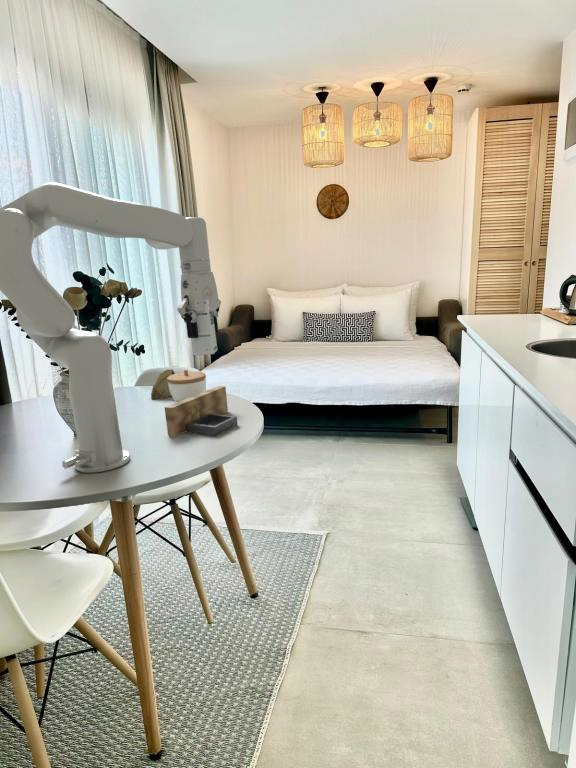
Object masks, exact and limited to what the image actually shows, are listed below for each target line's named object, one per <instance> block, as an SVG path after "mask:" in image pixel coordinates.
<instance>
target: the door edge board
mask: <svg viewBox="0 0 576 768" xmlns="http://www.w3.org/2000/svg"><path fill="white" fill-rule="evenodd" d="M228 412H229V409H228V398H227V388H226V385H223V386H222V385H218V386H215V387H213V388H210V389H208V390H206V391H205V392H202V393H200V394H197V395H195V396H192V397H190V398H187V399H185V400H182V401H180V402H177V401H176V402H175V403H172V404H170V405H167V406H164V413H165V421H166V423H165V424H166V431H167V436H168V435H169V436H168V437H174V436H175V437H178V436H179V435H182V434H183V432H184V433H185V431H186V432H187V430H186V423H188V422H191V421H193V420H195V419H197V418H199V417H202V416H204V415H206V414H208V413H210V414H219V415H225V414H226V413H228Z"/></svg>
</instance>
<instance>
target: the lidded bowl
mask: <svg viewBox="0 0 576 768" xmlns="http://www.w3.org/2000/svg"><path fill="white" fill-rule="evenodd" d="M167 381H168V386H169V391H170V394H171V396H172V399H173V400H174V401H175V402H176V403H177V402H180V401H182V400H185V399H187V398H190V397H192V396H195V395H197V394H200V393H202V392H205V391H207V374H206V373H205V372H202V371H189V370H188V369H184V370H183V372H179V373H175V374H173V375H171V376H169V377H168V378H167Z"/></svg>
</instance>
